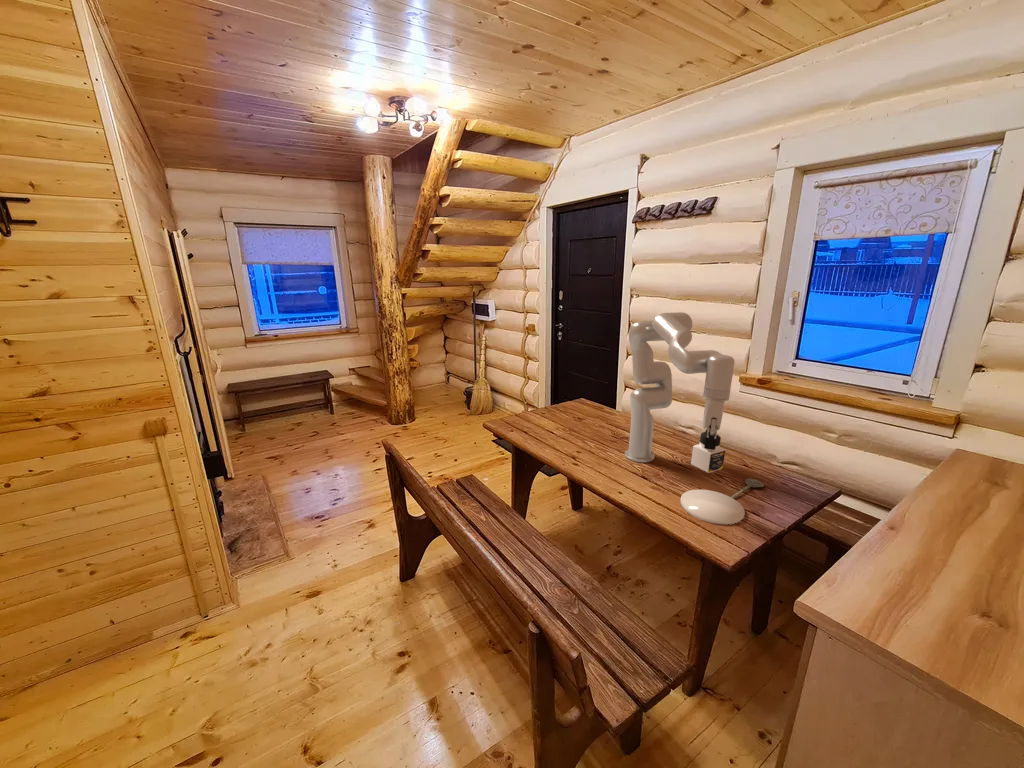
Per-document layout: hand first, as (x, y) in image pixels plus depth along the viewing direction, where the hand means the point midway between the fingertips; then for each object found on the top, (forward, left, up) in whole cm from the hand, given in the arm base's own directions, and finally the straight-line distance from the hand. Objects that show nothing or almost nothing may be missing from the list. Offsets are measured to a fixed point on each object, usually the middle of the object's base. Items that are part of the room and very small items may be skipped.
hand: (709, 444), depth 134 cm
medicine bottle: (0, 0, -8) cm, 8 cm away
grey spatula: (-18, +15, -24) cm, 34 cm away
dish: (-1, +3, -24) cm, 24 cm away
